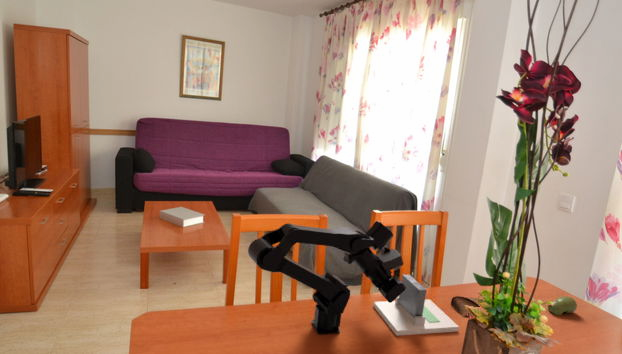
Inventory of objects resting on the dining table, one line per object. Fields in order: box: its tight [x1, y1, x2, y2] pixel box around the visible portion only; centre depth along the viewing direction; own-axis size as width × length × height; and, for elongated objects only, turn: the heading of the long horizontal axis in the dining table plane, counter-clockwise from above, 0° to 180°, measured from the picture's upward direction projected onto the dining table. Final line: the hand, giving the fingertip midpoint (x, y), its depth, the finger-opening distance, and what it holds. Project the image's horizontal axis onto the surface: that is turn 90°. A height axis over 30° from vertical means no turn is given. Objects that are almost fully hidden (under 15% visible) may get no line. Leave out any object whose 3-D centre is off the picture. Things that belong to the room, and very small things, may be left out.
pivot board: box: [372, 296, 460, 337], centre depth 125 cm, size 20×16×4 cm
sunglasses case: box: [450, 295, 480, 318], centre depth 134 cm, size 18×7×7 cm, turn 96°
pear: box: [547, 295, 578, 316], centre depth 139 cm, size 6×5×10 cm
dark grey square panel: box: [399, 274, 427, 318], centre depth 123 cm, size 2×10×10 cm, turn 15°
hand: (397, 295), depth 122 cm, fingers closed
